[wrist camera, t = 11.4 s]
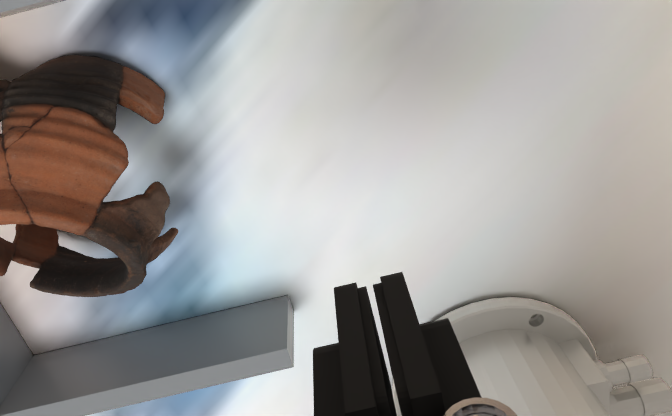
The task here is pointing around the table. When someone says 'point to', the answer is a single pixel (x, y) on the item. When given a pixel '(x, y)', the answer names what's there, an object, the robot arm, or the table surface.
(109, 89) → the pottery mug
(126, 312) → the table surface
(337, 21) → the table surface
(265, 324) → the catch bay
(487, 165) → the table surface
